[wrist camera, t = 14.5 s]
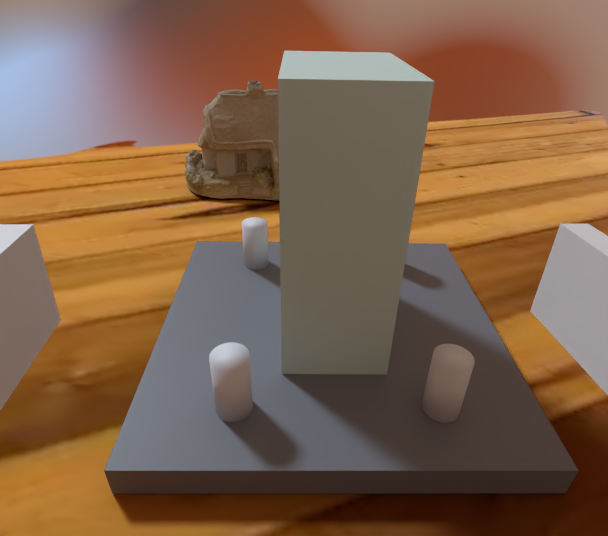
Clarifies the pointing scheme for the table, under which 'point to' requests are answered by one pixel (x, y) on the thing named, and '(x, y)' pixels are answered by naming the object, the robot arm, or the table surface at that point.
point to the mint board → (346, 204)
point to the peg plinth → (330, 395)
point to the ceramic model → (238, 146)
